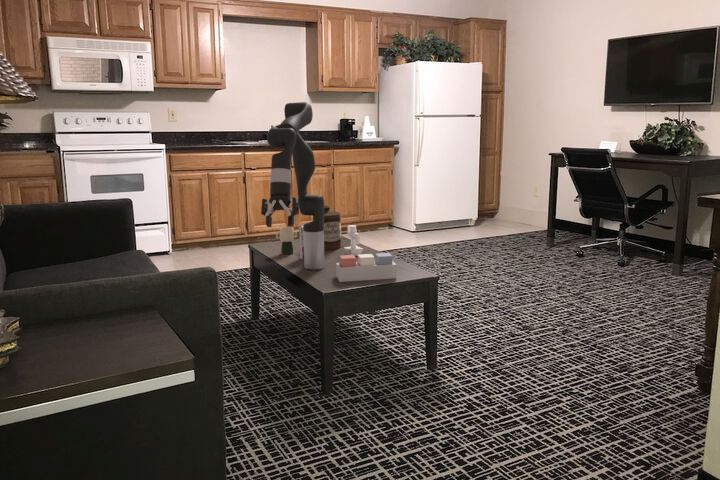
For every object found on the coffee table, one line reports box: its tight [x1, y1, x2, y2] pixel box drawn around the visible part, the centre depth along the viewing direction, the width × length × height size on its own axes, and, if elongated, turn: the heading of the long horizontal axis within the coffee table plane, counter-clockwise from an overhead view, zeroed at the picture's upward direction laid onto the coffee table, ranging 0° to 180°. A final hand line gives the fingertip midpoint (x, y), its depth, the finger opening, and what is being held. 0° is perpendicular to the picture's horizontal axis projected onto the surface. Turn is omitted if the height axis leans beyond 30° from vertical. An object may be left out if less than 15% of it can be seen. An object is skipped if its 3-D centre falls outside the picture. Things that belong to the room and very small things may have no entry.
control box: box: [335, 260, 397, 283], centre depth 250 cm, size 9×24×6 cm, turn 101°
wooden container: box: [312, 205, 342, 251], centre depth 308 cm, size 15×15×22 cm
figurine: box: [343, 224, 364, 257], centre depth 289 cm, size 7×9×15 cm
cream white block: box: [357, 253, 375, 266], centre depth 249 cm, size 6×6×5 cm
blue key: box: [374, 252, 393, 265], centre depth 250 cm, size 6×6×5 cm
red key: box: [339, 254, 357, 267], centre depth 247 cm, size 6×6×5 cm
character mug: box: [275, 226, 298, 255], centre depth 294 cm, size 11×7×13 cm, turn 111°
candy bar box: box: [298, 225, 304, 261], centre depth 283 cm, size 11×5×16 cm, turn 112°
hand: (279, 226), depth 211 cm, fingers open, 8 cm apart
